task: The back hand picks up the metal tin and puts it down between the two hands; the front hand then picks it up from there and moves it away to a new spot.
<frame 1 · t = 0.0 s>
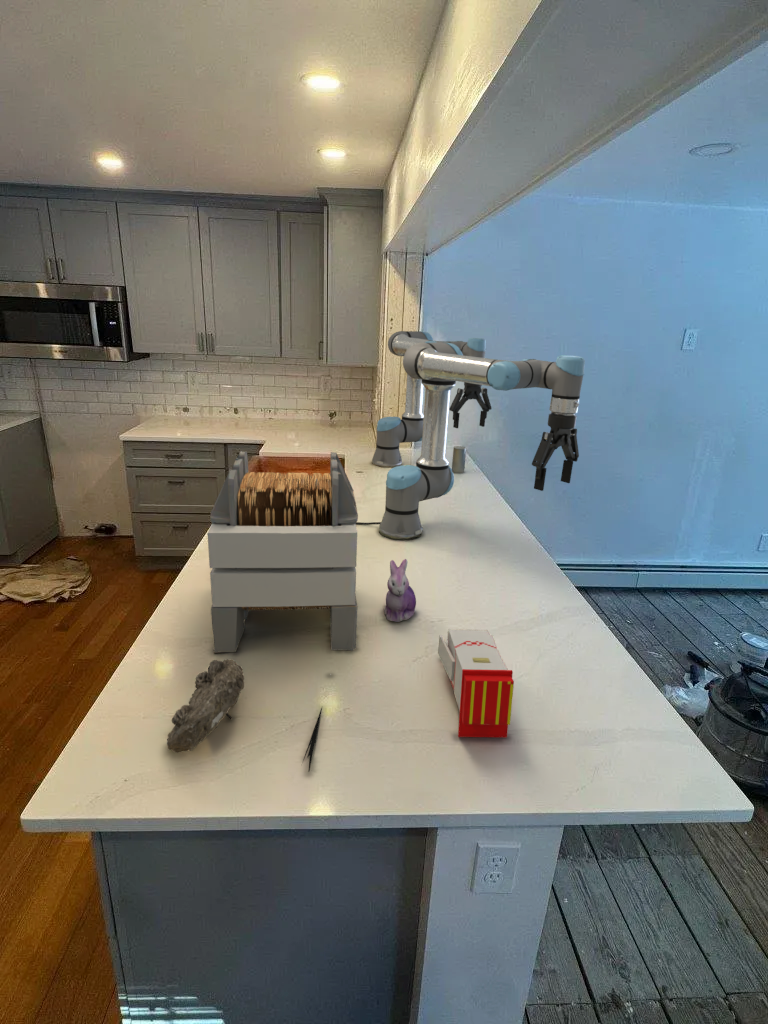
front hand: (552, 485, 166), 28 cm above the counter, tool pointing down, fingers open, 13 cm apart
back hand: (468, 427, 244), 28 cm above the counter, tool pointing down, fingers open, 13 cm apart
fossil: (212, 717, 108), on the counter
figurine: (399, 614, 147), on the counter
file storage bin: (288, 615, 144), on the counter
tin: (457, 471, 281), on the counter
toy: (469, 691, 119), on the counter
feather: (319, 719, 109), on the counter
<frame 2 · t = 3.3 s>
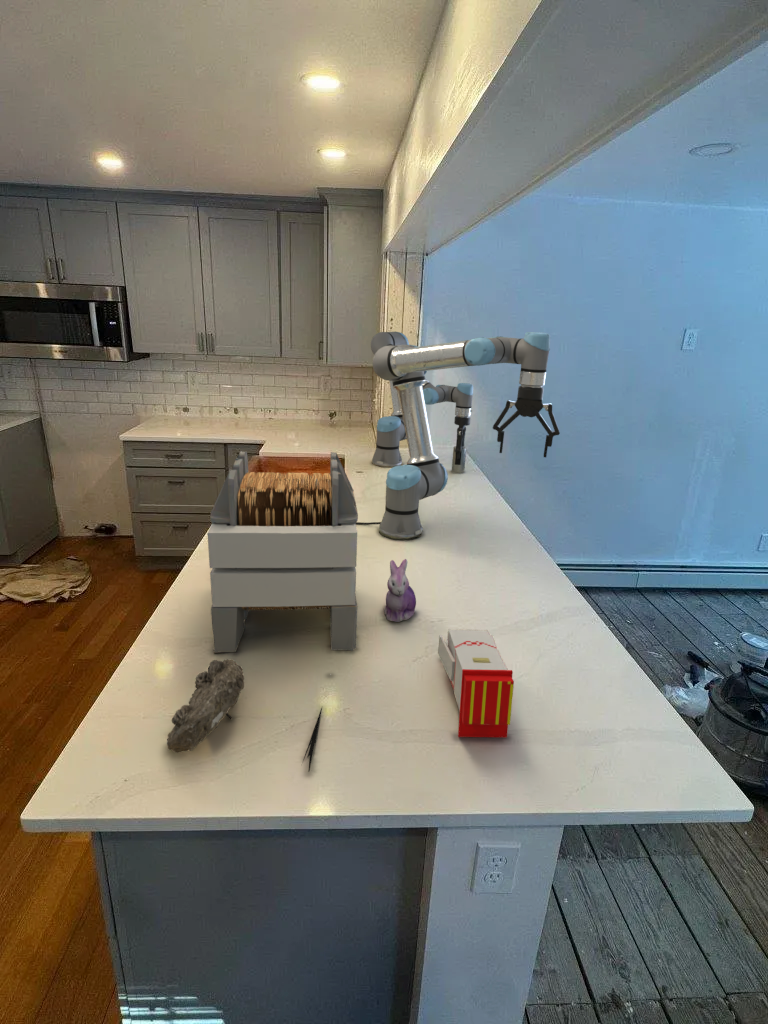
front hand: (522, 454, 179), 33 cm above the counter, tool pointing down, fingers open, 13 cm apart
back hand: (458, 462, 279), 4 cm above the counter, tool pointing down, fingers closed on tin, 6 cm apart
tin: (457, 471, 281), on the counter, touching back hand
everything else where it was.
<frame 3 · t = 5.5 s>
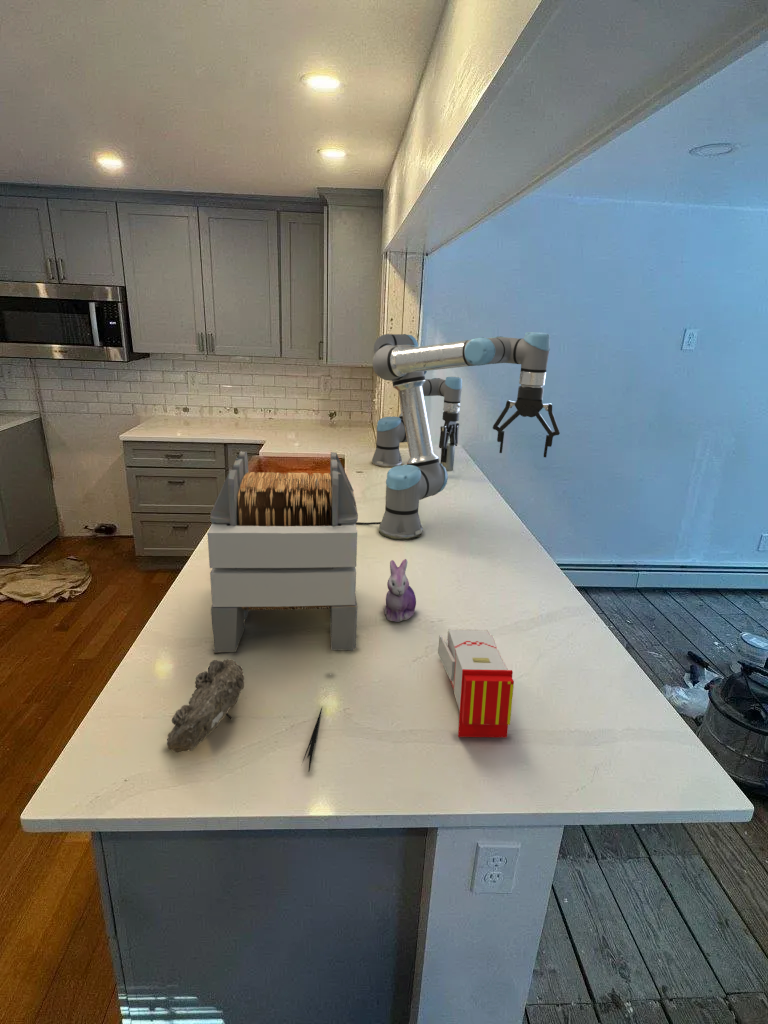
front hand: (522, 454, 179), 33 cm above the counter, tool pointing down, fingers open, 13 cm apart
back hand: (447, 460, 267), 8 cm above the counter, tool pointing down, fingers closed on tin, 6 cm apart
tin: (446, 469, 268), point 4 cm above the counter, touching back hand
everything else where it was.
when the back hand's fingers open (6 cm above the counter, at t = 7.7 s): tin drops 1 cm, on the counter.
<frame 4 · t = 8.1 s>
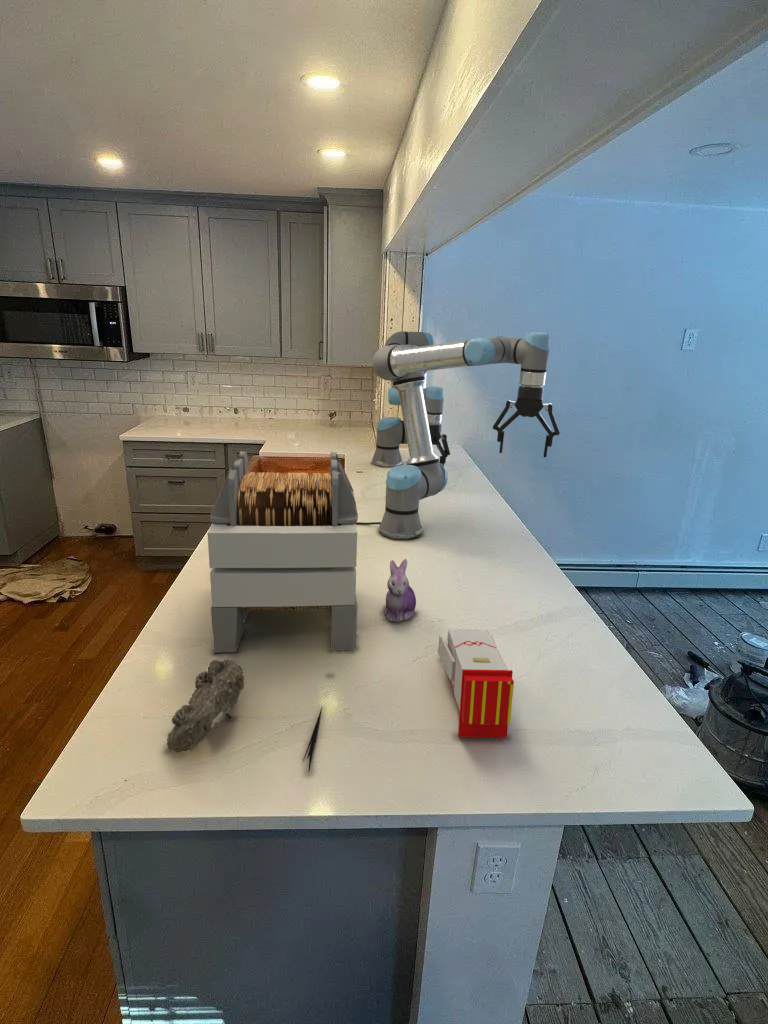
front hand: (522, 454, 179), 33 cm above the counter, tool pointing down, fingers open, 13 cm apart
back hand: (429, 471, 252), 7 cm above the counter, tool pointing down, fingers open, 11 cm apart
tin: (428, 486, 255), on the counter
everything else where it was.
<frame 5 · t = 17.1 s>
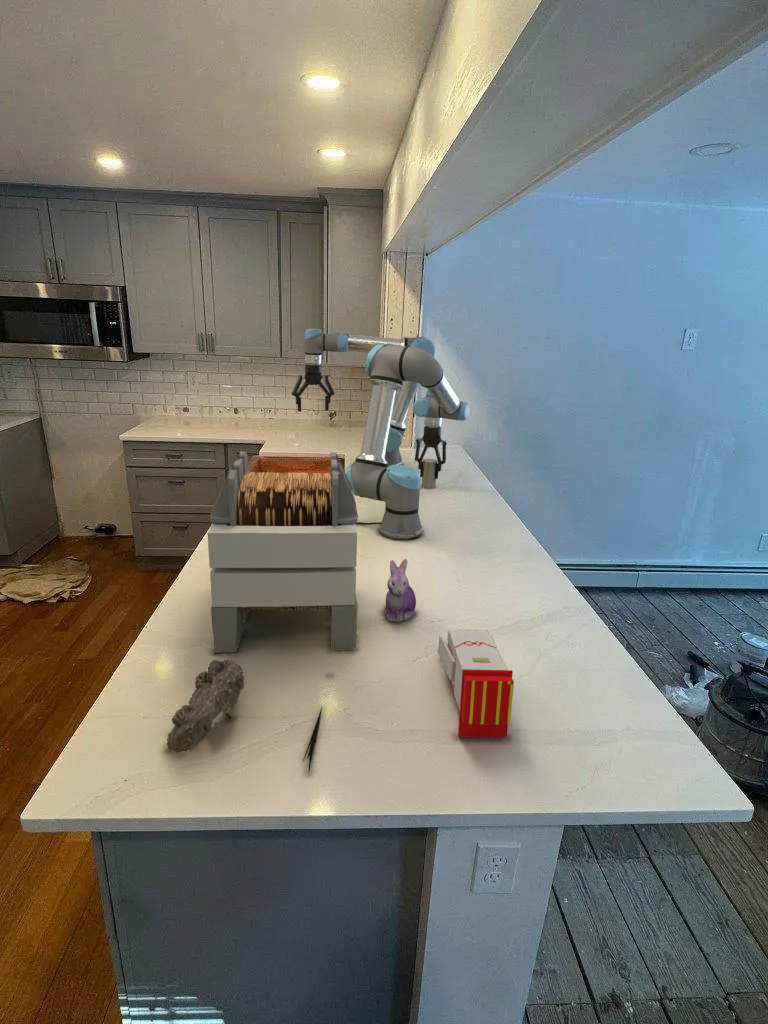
front hand: (429, 477, 253), 4 cm above the counter, tool pointing down, fingers closed on tin, 6 cm apart
back hand: (313, 410, 266), 28 cm above the counter, tool pointing down, fingers open, 13 cm apart
tin: (428, 486, 255), on the counter, touching front hand
everything else where it was.
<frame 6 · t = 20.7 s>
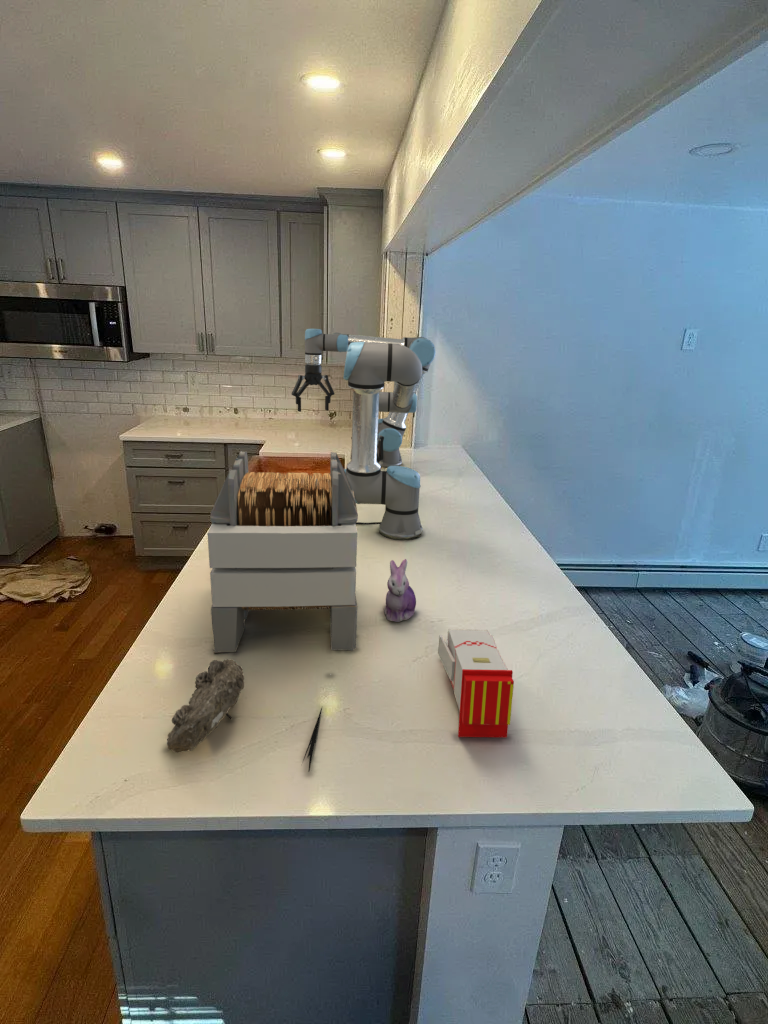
front hand: (366, 476, 237), 8 cm above the counter, tool pointing down, fingers closed on tin, 6 cm apart
back hand: (313, 410, 266), 28 cm above the counter, tool pointing down, fingers open, 13 cm apart
tin: (366, 486, 238), point 4 cm above the counter, touching front hand
everything else where it was.
when the front hand's fingers open (6 cm above the counter, at t = 24.8 s): tin drops 1 cm, on the counter.
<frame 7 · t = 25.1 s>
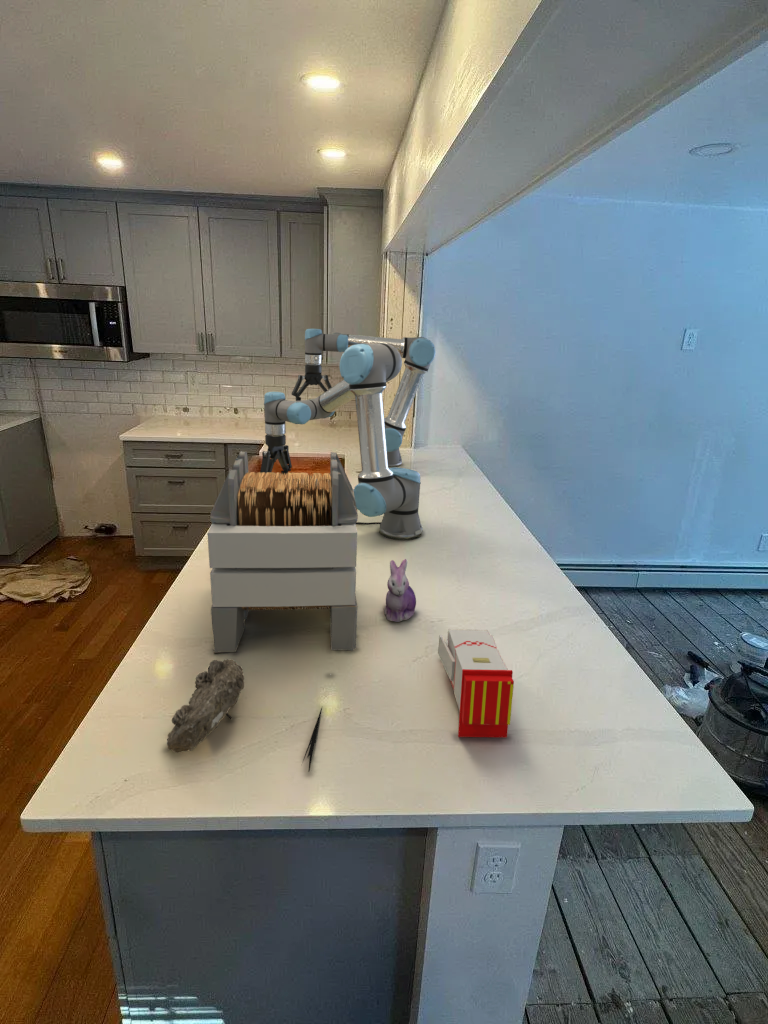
front hand: (276, 490, 219), 7 cm above the counter, tool pointing down, fingers open, 10 cm apart
back hand: (313, 410, 266), 28 cm above the counter, tool pointing down, fingers open, 13 cm apart
tin: (276, 506, 221), on the counter
everything else where it was.
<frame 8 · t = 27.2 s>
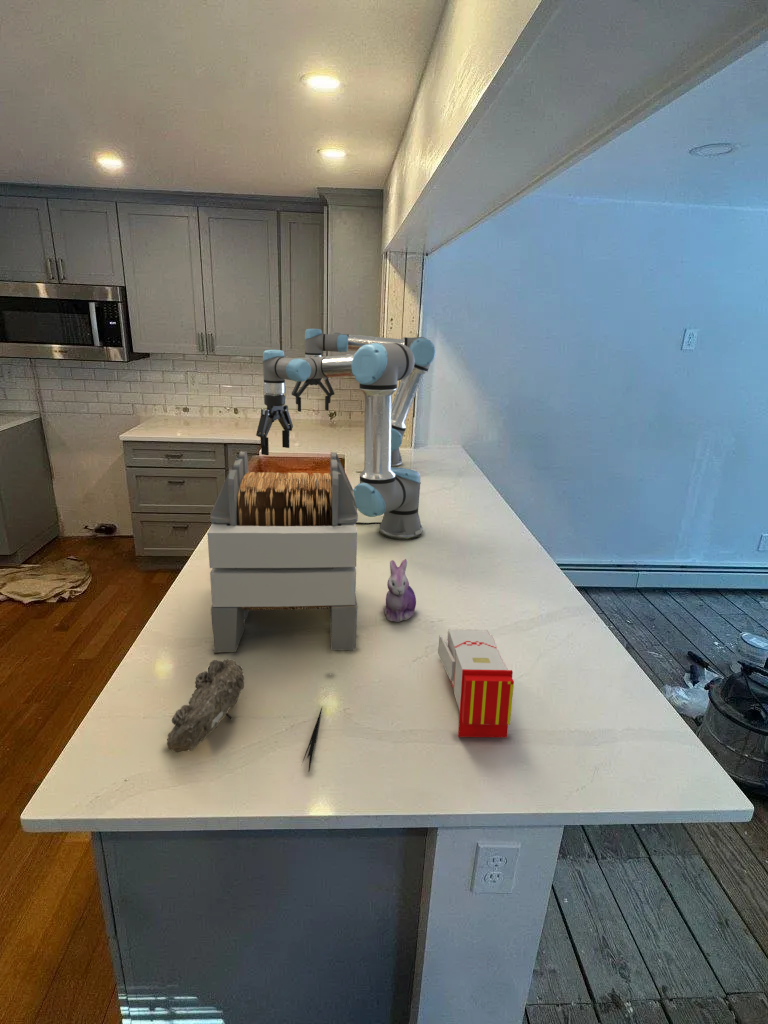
front hand: (275, 451, 213), 22 cm above the counter, tool pointing down, fingers open, 13 cm apart
back hand: (313, 410, 266), 28 cm above the counter, tool pointing down, fingers open, 13 cm apart
nothing on the counter moved.
at the end: tin inside the target area (0.0 cm from its centre), on the counter; tin tilted 0°; the two hands never held the tin at the same time; the front hand is holding nothing; the back hand is holding nothing; tin at rest at the end (0.0 cm/s) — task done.
